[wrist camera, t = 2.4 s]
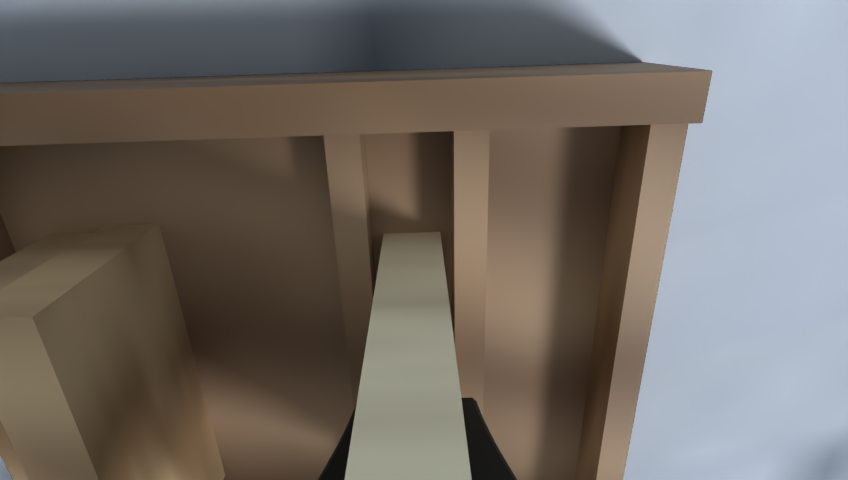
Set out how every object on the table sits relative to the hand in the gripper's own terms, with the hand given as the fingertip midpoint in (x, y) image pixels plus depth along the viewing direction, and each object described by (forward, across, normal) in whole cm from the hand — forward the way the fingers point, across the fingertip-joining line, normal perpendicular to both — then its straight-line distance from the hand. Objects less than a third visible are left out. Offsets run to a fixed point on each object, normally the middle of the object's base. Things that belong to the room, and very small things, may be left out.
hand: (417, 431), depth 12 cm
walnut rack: (+4, +3, 0) cm, 5 cm away
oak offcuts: (+3, +8, 0) cm, 9 cm away
